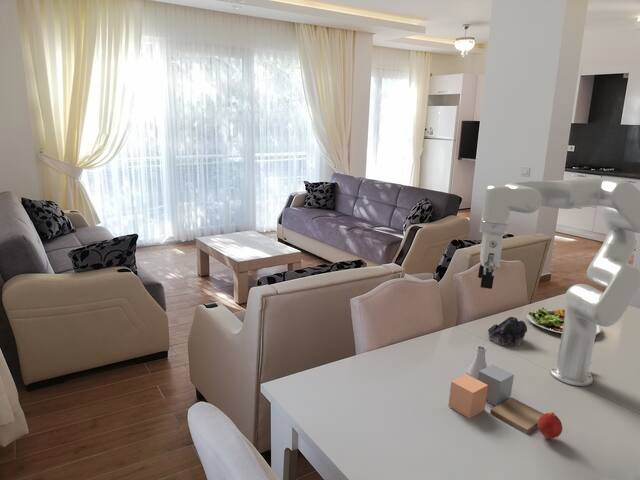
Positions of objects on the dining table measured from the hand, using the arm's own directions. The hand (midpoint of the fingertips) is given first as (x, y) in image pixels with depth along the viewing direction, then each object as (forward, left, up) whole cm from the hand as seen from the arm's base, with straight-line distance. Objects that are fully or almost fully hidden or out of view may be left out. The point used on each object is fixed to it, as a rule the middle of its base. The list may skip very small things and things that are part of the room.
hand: (484, 282), depth 143 cm
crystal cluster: (-38, -11, -34) cm, 52 cm away
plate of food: (-71, -5, -34) cm, 79 cm away
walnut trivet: (+5, +19, -33) cm, 39 cm away
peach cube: (+14, +8, -33) cm, 37 cm away
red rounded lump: (+7, +29, -34) cm, 45 cm away
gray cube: (+2, +9, -33) cm, 35 cm away
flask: (-5, -1, -34) cm, 34 cm away
